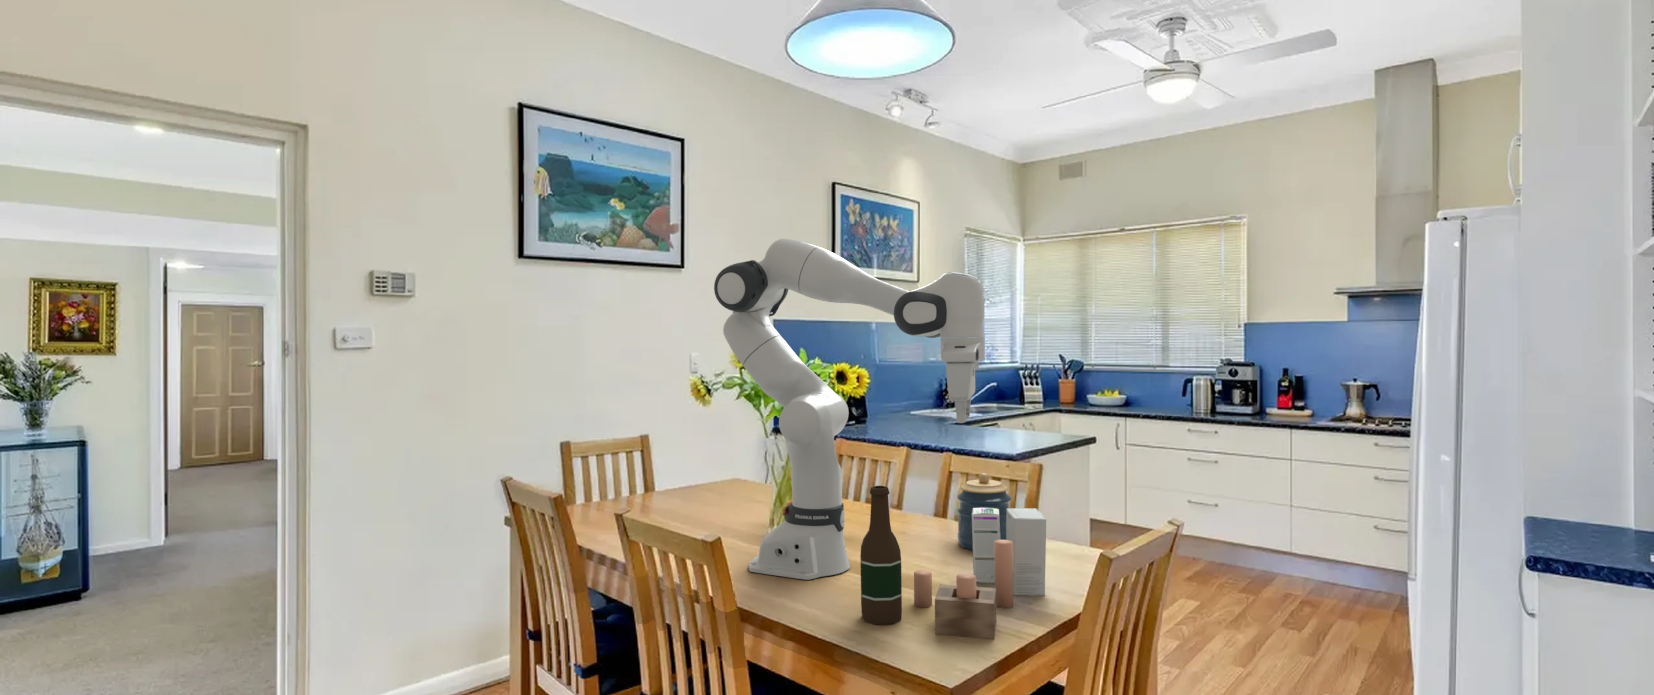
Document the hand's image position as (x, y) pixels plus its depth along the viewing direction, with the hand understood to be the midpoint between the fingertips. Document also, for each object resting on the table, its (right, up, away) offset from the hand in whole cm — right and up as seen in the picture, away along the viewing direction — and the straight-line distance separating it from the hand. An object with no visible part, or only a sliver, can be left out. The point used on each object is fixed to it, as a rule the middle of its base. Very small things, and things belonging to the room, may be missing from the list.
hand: (963, 420), depth 155 cm
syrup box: (+6, -34, +5) cm, 35 cm away
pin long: (+6, -34, -10) cm, 36 cm away
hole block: (-3, -35, -21) cm, 41 cm away
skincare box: (+12, -34, -2) cm, 36 cm away
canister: (+11, -34, +31) cm, 47 cm away
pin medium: (-3, -35, -21) cm, 41 cm away
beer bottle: (-18, -35, -16) cm, 42 cm away
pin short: (-9, -34, -9) cm, 37 cm away
